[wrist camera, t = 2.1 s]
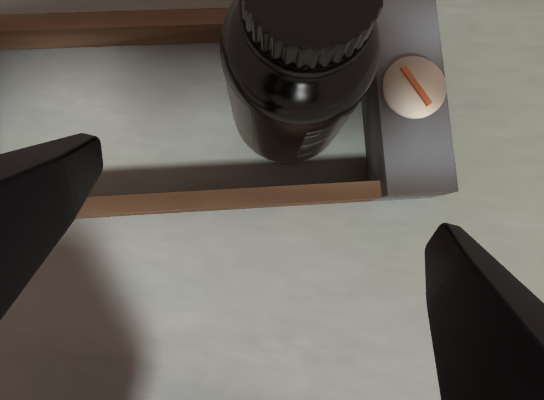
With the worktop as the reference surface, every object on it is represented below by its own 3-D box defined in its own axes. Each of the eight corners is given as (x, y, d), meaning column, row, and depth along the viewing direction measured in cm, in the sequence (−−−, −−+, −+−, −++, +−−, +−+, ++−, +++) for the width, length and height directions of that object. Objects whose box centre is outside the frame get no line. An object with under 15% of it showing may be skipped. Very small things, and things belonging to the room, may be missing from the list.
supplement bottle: (337, 64, 24) (420, -112, 12) (339, 166, 23) (428, 87, 11) (233, 61, 23) (210, -123, 12) (231, 164, 23) (204, 81, 11)
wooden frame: (432, 197, 23) (464, 189, 19) (-75, 227, 21) (-141, 224, 18) (412, 21, 24) (439, -17, 21) (-67, 37, 23) (-128, -1, 19)
